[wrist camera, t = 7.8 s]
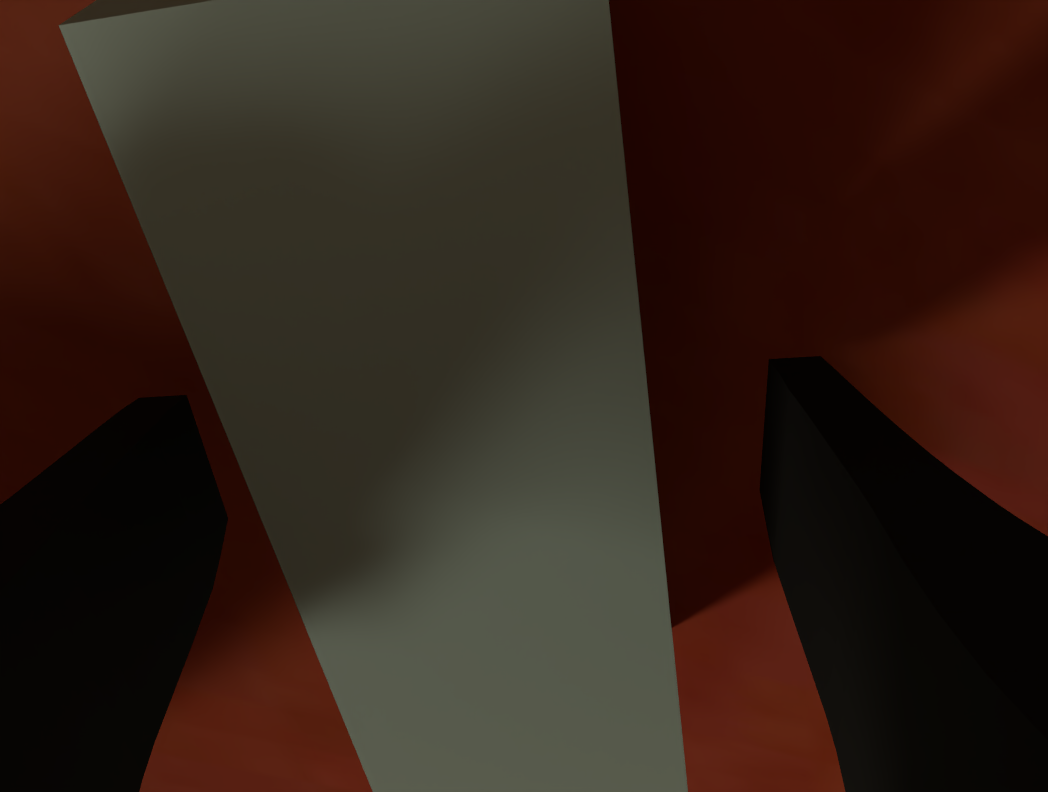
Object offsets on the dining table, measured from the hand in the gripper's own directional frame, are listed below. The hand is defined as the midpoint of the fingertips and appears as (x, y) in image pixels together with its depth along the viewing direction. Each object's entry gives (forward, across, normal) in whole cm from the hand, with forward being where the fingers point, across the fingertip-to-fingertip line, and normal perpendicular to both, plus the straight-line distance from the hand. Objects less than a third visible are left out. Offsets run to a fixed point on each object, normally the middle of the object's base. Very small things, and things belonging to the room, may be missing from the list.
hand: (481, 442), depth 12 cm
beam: (+2, 0, 0) cm, 2 cm away
